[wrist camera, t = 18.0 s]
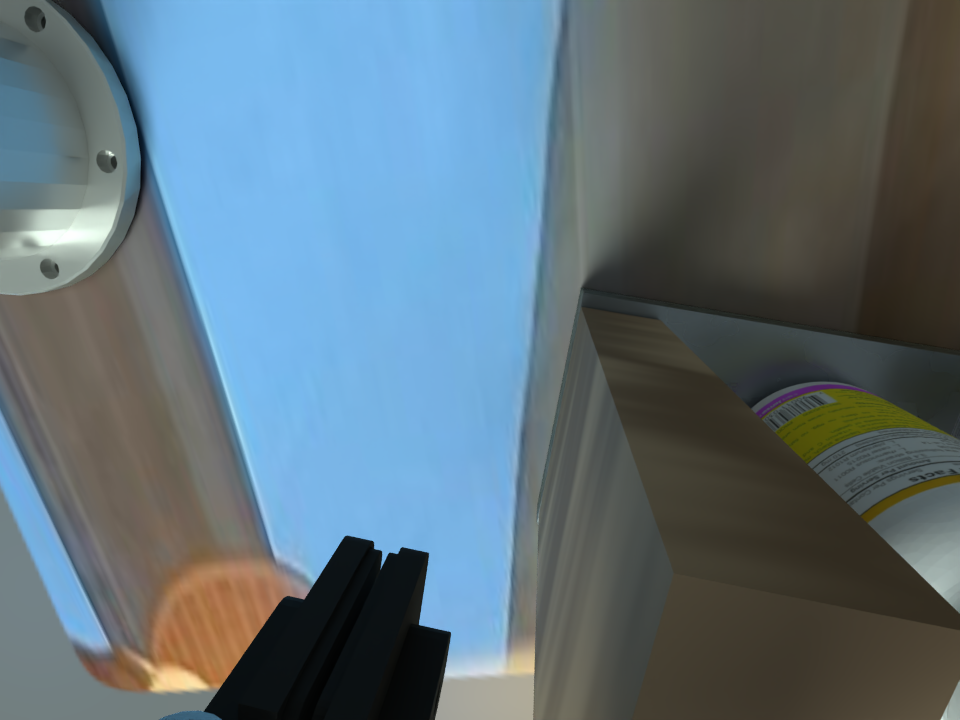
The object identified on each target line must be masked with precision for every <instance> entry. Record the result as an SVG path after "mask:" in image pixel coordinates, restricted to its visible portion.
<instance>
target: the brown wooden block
mask: <svg viewBox="0 0 960 720" xmlns="http://www.w3.org/2000/svg"><path fill="white" fill-rule="evenodd" d="M959 680H960V613H959V612H958V611H957V610H956V609H955V608H954V607H953V606H951V605H950V604H949V603H948V602H947V601H946V600H945V599H944V598H943V597H942V596H941V595H940V594H939V593H938V592H937V591H936V590H935V589H934V588H933V587H932V586H931V585H930V584H929V583H928V582H927V581H926V580H925V579H924V578H923V577H922V576H921V575H920V574H919V573H918V572H917V571H916V570H915V569H914V568H913V567H912V566H911V565H910V564H909V563H908V562H907V561H906V560H905V559H904V558H903V557H902V556H901V555H899V554H898V553H897V552H896V551H895V550H894V549H893V548H892V547H891V546H890V545H889V544H888V543H887V542H886V541H885V540H884V539H883V538H882V537H881V536H880V535H879V534H878V533H877V532H876V531H875V530H874V529H873V528H872V527H871V526H870V525H869V524H868V523H867V522H866V521H865V520H864V519H863V518H862V517H861V516H860V515H859V514H858V513H857V512H856V511H855V510H854V509H853V508H852V507H851V506H850V505H849V504H847V503H846V502H845V501H844V500H843V499H842V498H841V497H840V496H839V495H838V494H837V493H836V492H835V491H834V490H833V489H832V488H831V487H830V486H829V485H828V484H827V483H826V482H825V481H824V480H823V479H822V478H821V477H820V476H819V475H818V474H817V473H816V472H815V471H814V470H813V469H812V468H811V467H810V466H809V465H808V464H807V463H806V462H805V461H804V460H803V459H802V458H801V457H800V456H799V455H798V454H797V453H796V452H794V451H793V450H792V449H791V448H790V447H789V446H788V445H787V444H786V443H785V442H784V441H783V440H782V439H781V438H780V437H779V436H778V435H777V434H776V433H775V432H774V431H773V430H772V429H771V428H770V427H769V426H768V425H767V424H766V423H765V422H764V421H763V420H762V419H761V418H760V417H759V416H758V415H757V414H756V413H755V412H754V411H753V410H752V409H751V408H750V407H749V406H748V405H747V404H746V403H745V402H744V401H742V400H741V399H740V398H739V397H738V396H737V395H736V394H735V393H734V392H733V391H732V390H731V389H730V388H729V387H728V386H727V385H726V384H725V383H724V382H723V381H722V380H721V379H720V378H719V377H718V376H717V375H716V374H715V373H714V372H713V371H712V370H711V369H710V368H709V367H708V366H707V365H706V364H705V363H704V362H703V361H702V360H701V359H700V358H699V357H698V356H697V355H696V354H695V353H694V352H693V351H692V350H690V349H689V348H688V347H687V346H686V345H685V344H684V343H683V342H682V341H681V340H680V339H679V338H678V337H677V336H676V335H675V334H674V333H673V332H672V331H671V330H670V329H669V328H668V327H667V326H666V325H665V324H664V323H663V322H662V321H661V320H656V319H651V318H645V317H639V316H633V315H627V314H621V313H615V312H609V311H603V310H597V309H591V308H585V307H581V309H580V314H579V319H578V324H577V329H576V334H575V339H574V344H573V349H572V354H571V359H570V364H569V369H568V373H567V378H566V383H565V388H564V393H563V398H562V403H561V408H560V413H559V418H558V423H557V428H556V433H555V437H554V442H553V447H552V452H551V457H550V462H549V467H548V472H547V477H546V482H545V487H544V492H543V497H542V502H541V506H540V511H539V525H538V563H537V600H536V638H535V675H534V713H533V720H941V718H942V716H943V714H944V712H945V709H946V707H947V705H948V703H949V701H950V699H951V697H952V695H953V693H954V691H955V689H956V686H957V684H958V682H959Z"/></svg>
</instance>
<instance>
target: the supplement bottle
mask: <svg viewBox="0 0 960 720" xmlns="http://www.w3.org/2000/svg"><path fill="white" fill-rule="evenodd" d="M751 409H752V410H753V411H754V412H755V413H756V414H757V415H758V416H759V417H760V418H761V419H762V420H763V421H764V422H765V423H766V424H767V425H768V426H769V427H770V428H771V429H772V430H773V431H774V432H775V433H776V434H777V435H778V436H779V437H780V438H781V439H782V440H783V441H784V442H785V443H786V444H787V445H788V446H789V447H790V448H791V449H792V450H793V451H794V452H796V453H797V454H798V455H799V456H800V457H801V458H802V459H803V460H804V461H805V462H806V463H807V464H808V465H809V466H810V467H811V468H812V469H813V470H814V471H815V472H816V473H817V474H818V475H819V476H820V477H821V478H822V479H823V480H824V481H825V482H826V483H827V484H828V485H829V486H830V487H831V488H832V489H833V490H834V491H835V492H836V493H837V494H838V495H839V496H840V497H841V498H842V499H843V500H844V501H845V502H846V503H847V504H849V505H850V506H851V507H852V508H853V509H854V510H855V511H856V512H857V513H858V514H859V515H860V516H861V517H862V518H863V519H864V520H865V521H866V522H867V523H868V524H869V525H870V526H871V527H872V528H873V529H874V530H875V531H876V532H877V533H878V534H879V535H880V536H881V537H882V538H883V539H884V540H885V541H886V542H887V543H888V544H889V545H890V546H891V547H892V548H893V549H894V550H895V551H896V552H897V553H898V554H899V555H901V556H902V557H903V558H904V559H905V560H906V561H907V562H908V563H909V564H910V565H911V566H912V567H913V568H914V569H915V570H916V571H917V572H918V573H919V574H920V575H921V576H922V577H923V578H924V579H925V580H926V581H927V582H928V583H929V584H930V585H931V586H932V587H933V588H934V589H935V590H936V591H937V592H938V593H939V594H940V595H941V596H942V597H943V598H944V599H945V600H946V601H947V602H948V603H949V604H950V605H951V606H953V607H954V608H955V609H956V610H957V611H958V612H959V613H960V440H958V439H957V438H955V437H953V436H951V435H949V434H947V433H945V432H944V431H942V430H940V429H938V428H937V427H935V426H932V425H931V424H929V423H927V422H925V421H923V420H921V419H920V418H918V417H916V416H914V415H912V414H910V413H909V412H907V411H905V410H903V409H901V408H899V407H898V406H896V405H894V404H892V403H890V402H888V401H886V400H884V399H883V398H881V397H879V396H877V395H875V394H873V393H870V392H868V391H866V390H864V389H861V388H858V387H855V386H852V385H848V384H844V383H838V382H809V383H802V384H797V385H794V386H790V387H787V388H784V389H781V390H779V391H777V392H775V393H773V394H771V395H769V396H768V397H766V398H764V399H763V400H761V401H760V402H759V403H757V404H756V405H755V406H754V407H752V408H751ZM941 720H960V680H959V682H958V684H957V686H956V689H955V691H954V693H953V695H952V697H951V699H950V701H949V703H948V705H947V707H946V709H945V712H944V714H943V716H942V718H941Z"/></svg>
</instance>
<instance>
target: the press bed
mask: <svg viewBox="0 0 960 720" xmlns="http://www.w3.org/2000/svg"><path fill="white" fill-rule="evenodd" d="M581 307H585V308H591V309H597V310H603V311H609V312H615V313H621V314H627V315H633V316H639V317H645V318H651V319H656V320H661V321H662V322H663V323H664V324H665V325H666V326H667V327H668V328H669V329H670V330H671V331H672V332H673V333H674V334H675V335H676V336H677V337H678V338H679V339H680V340H681V341H682V342H683V343H684V344H685V345H686V346H687V347H688V348H689V349H690V350H692V351H693V352H694V353H695V354H696V355H697V356H698V357H699V358H700V359H701V360H702V361H703V362H704V363H705V364H706V365H707V366H708V367H709V368H710V369H711V370H712V371H713V372H714V373H715V374H716V375H717V376H718V377H719V378H720V379H721V380H722V381H723V382H724V383H725V384H726V385H727V386H728V387H729V388H730V389H731V390H732V391H733V392H734V393H735V394H736V395H737V396H738V397H739V398H740V399H741V400H742V401H744V402H745V403H746V404H747V405H748V406H749V407H750V408H752V407H754V406H755V405H756V404H757V403H759V402H760V401H761V400H763V399H764V398H766V397H768V396H769V395H771V394H773V393H775V392H777V391H779V390H781V389H784V388H787V387H790V386H794V385H797V384H802V383H809V382H838V383H844V384H848V385H852V386H855V387H858V388H861V389H864V390H866V391H868V392H870V393H873V394H875V395H877V396H879V397H881V398H883V399H884V400H886V401H888V402H890V403H892V404H894V405H896V406H898V407H899V408H901V409H903V410H905V411H907V412H909V413H910V414H912V415H914V416H916V417H918V418H920V419H921V420H923V421H925V422H927V423H929V424H931V425H932V426H935V427H937V428H938V429H940V430H942V431H944V432H945V433H947V434H949V435H951V436H953V437H955V438H957V439H958V440H960V351H958V350H952V349H946V348H940V347H934V346H928V345H922V344H916V343H910V342H904V341H898V340H892V339H886V338H880V337H874V336H868V335H862V334H856V333H850V332H844V331H838V330H832V329H826V328H820V327H814V326H808V325H802V324H796V323H790V322H784V321H778V320H772V319H766V318H760V317H754V316H748V315H742V314H736V313H730V312H724V311H718V310H712V309H706V308H700V307H694V306H688V305H682V304H676V303H670V302H664V301H658V300H652V299H646V298H640V297H634V296H628V295H622V294H616V293H610V292H604V291H598V290H592V289H586V288H581V290H580V295H579V300H578V305H577V310H576V315H575V320H574V325H573V330H572V335H571V340H570V345H569V350H568V355H567V360H566V365H565V370H564V375H563V380H562V385H561V390H560V395H559V400H558V405H557V410H556V415H555V420H554V425H553V430H552V435H551V440H550V445H549V450H548V455H547V460H546V464H545V469H544V474H543V479H542V484H541V489H540V494H539V499H538V504H537V523H539V511H540V506H541V502H542V497H543V492H544V487H545V482H546V477H547V472H548V467H549V462H550V457H551V452H552V447H553V442H554V437H555V433H556V428H557V423H558V418H559V413H560V408H561V403H562V398H563V393H564V388H565V383H566V378H567V373H568V369H569V364H570V359H571V354H572V349H573V344H574V339H575V334H576V329H577V324H578V319H579V314H580V309H581Z"/></svg>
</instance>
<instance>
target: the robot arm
mask: <svg viewBox="0 0 960 720" xmlns="http://www.w3.org/2000/svg"><path fill="white" fill-rule="evenodd" d="M140 171H141V156H140V149H139V142H138V134H137V127H136V124H135V121H134V118H133V114H132V111H131V108H130V104H129V101H128V98H127V95H126V93H125V91H124V89H123V87H122V85H121V83H120V81H119V79H118V77H117V75H116V72H115V70H114V68H113V66H112V65H111V63H110V62H109V60H108V59H107V57H106V56H105V55H104V53H103V52H102V50H101V49H100V47H99V46H98V44H97V43H96V42H95V40H94V39H93V37H92V36H91V35H90V34H89V33H88V32H87V31H86V30H85V29H84V28H83V27H82V26H81V25H80V24H79V23H78V22H77V21H76V20H75V19H74V18H73V17H72V16H71V14H69V13H68V12H67V11H65V10H64V9H63V8H61V7H60V6H59V5H57V4H56V3H55V2H53V1H52V0H0V294H10V295H27V294H35V293H42V292H49V291H53V290H57V289H61V288H65V287H69V286H72V285H74V284H76V283H78V282H79V281H81V280H83V279H85V278H87V277H89V276H91V275H92V274H93V273H95V272H96V271H97V270H98V269H99V268H100V267H101V266H103V265H104V264H105V263H106V262H107V261H108V260H109V259H110V258H111V257H112V255H113V254H114V252H115V251H116V250H117V248H118V247H119V245H120V244H121V243H122V241H123V240H124V238H125V235H126V233H127V231H128V229H129V226H130V224H131V222H132V219H133V217H134V214H135V209H136V204H137V200H138V195H139V191H140ZM428 558H429V553H427V552H422V551H417V550H413V549H408V548H403V547H402V548H401V549H400V551H399V553H398V554H394V553H389V554H388V556H387V558H386V560H385V562H384V564H383V566H382V568H381V561H382V551H380V550H375V549H374V542H373V541H370V540H365V539H361V538H356V537H351V536H345V537H344V539H343V540H342V542H341V543H340V545H339V546H338V548H337V549H336V551H335V552H334V554H333V556H332V557H331V559H330V560H329V562H328V563H327V565H326V567H325V568H324V570H323V571H322V573H321V574H320V576H319V578H318V579H317V581H316V582H315V584H314V585H313V587H312V589H311V590H310V592H309V593H308V595H307V596H306V598H305V600H304V599H299V598H295V597H290V596H287V597H285V598H283V599H282V601H281V602H280V603H279V604H278V606H277V607H276V609H275V610H274V611H273V613H272V614H271V616H270V617H269V619H268V620H267V621H266V623H265V624H264V626H263V627H262V629H261V630H260V631H259V633H258V634H257V636H256V637H255V639H254V640H253V642H252V643H251V644H250V646H249V647H248V649H247V650H246V652H245V653H244V654H243V656H242V657H241V659H240V660H239V662H238V663H237V665H236V666H235V667H234V669H233V670H232V672H231V673H230V675H229V676H228V677H227V679H226V680H225V682H224V683H223V685H222V686H221V688H220V689H219V690H218V692H217V693H216V695H215V696H214V698H213V699H212V700H211V702H210V703H209V705H208V706H207V708H206V709H205V711H204V712H202V711H183V712H179V713H175V714H172V715H168V716H165V717H163V718H161V719H159V720H435V716H436V712H437V708H438V702H439V698H440V693H441V688H442V683H443V678H444V673H445V667H446V662H447V656H448V650H449V644H450V638H451V632H448V631H443V630H439V629H434V628H430V627H425V626H421V625H419V619H420V612H421V606H422V599H423V592H424V586H425V579H426V572H427V566H428ZM380 569H381V570H380Z"/></svg>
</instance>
